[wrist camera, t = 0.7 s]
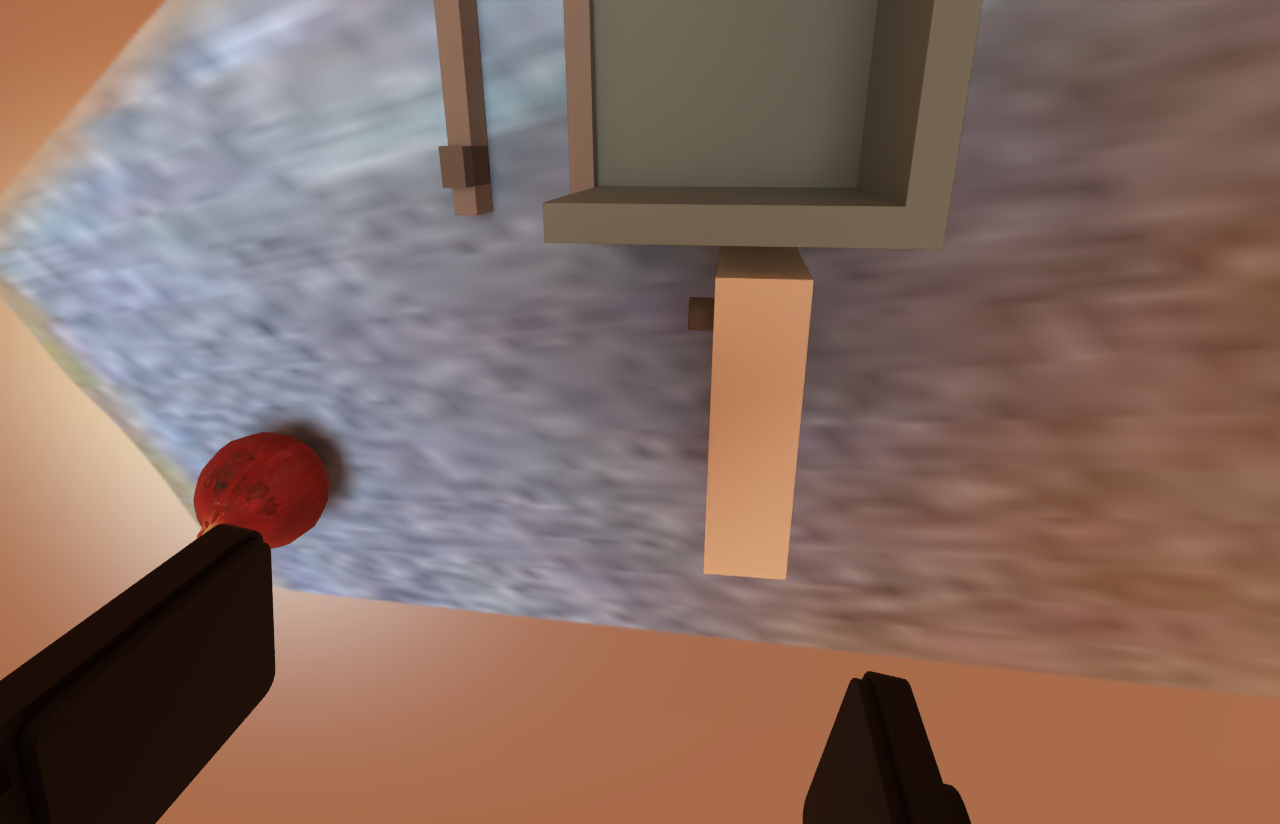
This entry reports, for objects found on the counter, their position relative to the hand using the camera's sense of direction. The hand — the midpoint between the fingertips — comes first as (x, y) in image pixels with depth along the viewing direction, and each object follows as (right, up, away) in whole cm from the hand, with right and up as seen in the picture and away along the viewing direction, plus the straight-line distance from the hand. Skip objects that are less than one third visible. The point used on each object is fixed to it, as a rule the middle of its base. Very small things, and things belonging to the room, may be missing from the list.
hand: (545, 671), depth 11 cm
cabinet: (+3, +19, +17) cm, 26 cm away
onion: (-17, +1, +27) cm, 32 cm away
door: (+7, +7, +22) cm, 24 cm away
